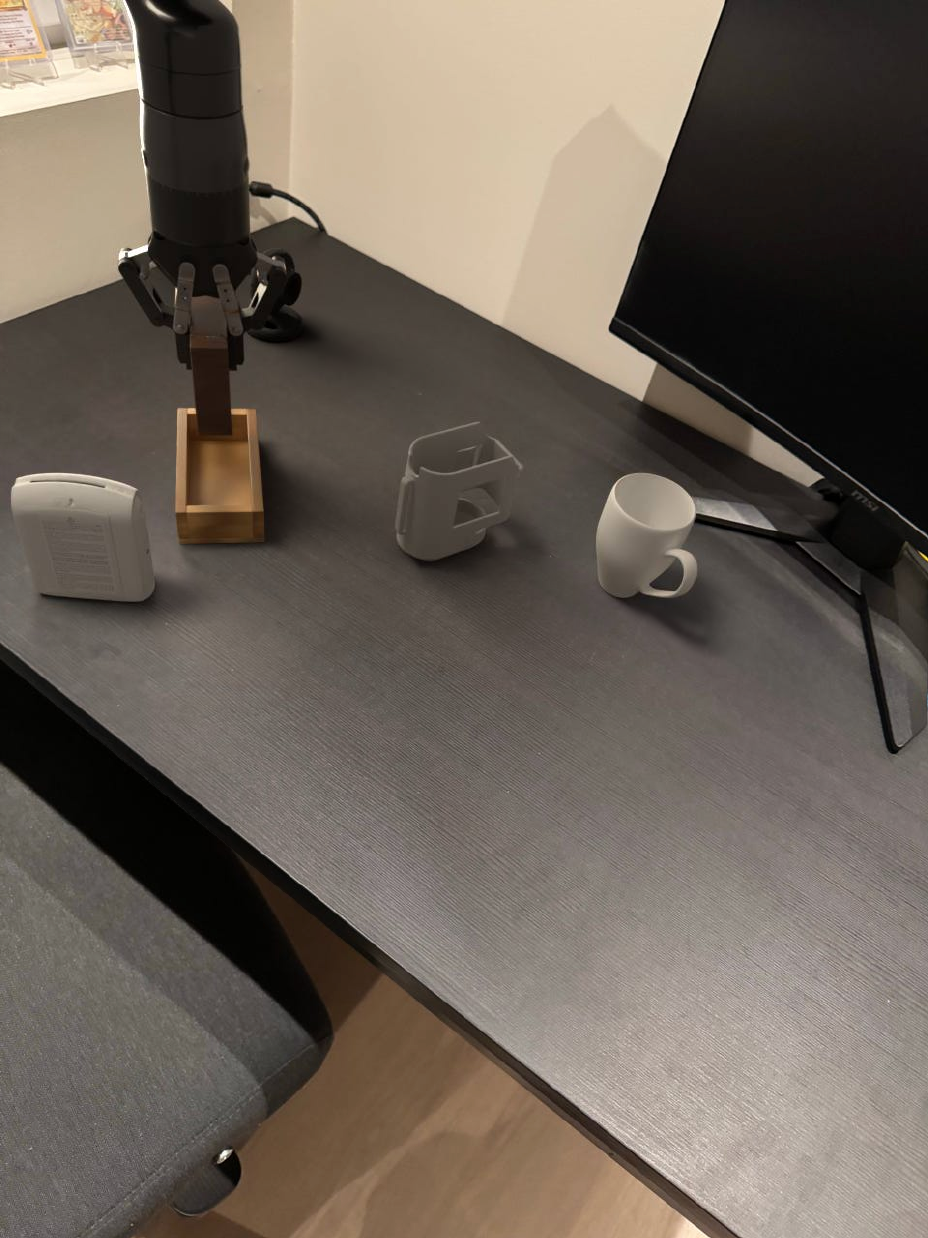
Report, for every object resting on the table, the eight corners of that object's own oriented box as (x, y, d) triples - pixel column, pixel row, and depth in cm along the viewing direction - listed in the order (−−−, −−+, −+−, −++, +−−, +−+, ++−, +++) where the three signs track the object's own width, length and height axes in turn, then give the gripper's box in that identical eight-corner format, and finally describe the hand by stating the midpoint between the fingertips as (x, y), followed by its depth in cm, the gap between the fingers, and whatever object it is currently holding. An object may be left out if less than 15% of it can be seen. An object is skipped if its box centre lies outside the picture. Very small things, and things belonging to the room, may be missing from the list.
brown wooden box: (197, 435, 76) (189, 347, 69) (197, 371, 82) (190, 283, 75) (232, 436, 76) (227, 348, 70) (229, 371, 83) (225, 285, 76)
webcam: (280, 350, 105) (280, 273, 97) (230, 328, 106) (226, 251, 99) (314, 324, 110) (316, 249, 102) (265, 303, 111) (264, 228, 104)
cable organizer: (508, 541, 89) (533, 450, 80) (407, 577, 83) (423, 484, 74) (473, 502, 92) (494, 410, 83) (374, 534, 86) (385, 439, 77)
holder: (179, 544, 81) (175, 512, 78) (180, 439, 91) (177, 407, 88) (264, 542, 83) (263, 511, 80) (257, 439, 93) (256, 408, 90)
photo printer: (160, 572, 78) (144, 468, 69) (151, 607, 76) (133, 503, 66) (43, 563, 77) (11, 456, 68) (29, 598, 74) (-7, 491, 65)
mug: (564, 563, 88) (595, 480, 80) (628, 547, 91) (664, 464, 83) (627, 649, 82) (667, 568, 73) (693, 627, 85) (739, 547, 77)
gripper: (289, 152, 67) (288, 344, 80) (100, 135, 64) (130, 339, 77) (296, 195, 63) (293, 391, 76) (92, 179, 59) (126, 388, 72)
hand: (211, 364), depth 76 cm, fingers closed on brown wooden box, 3 cm apart
